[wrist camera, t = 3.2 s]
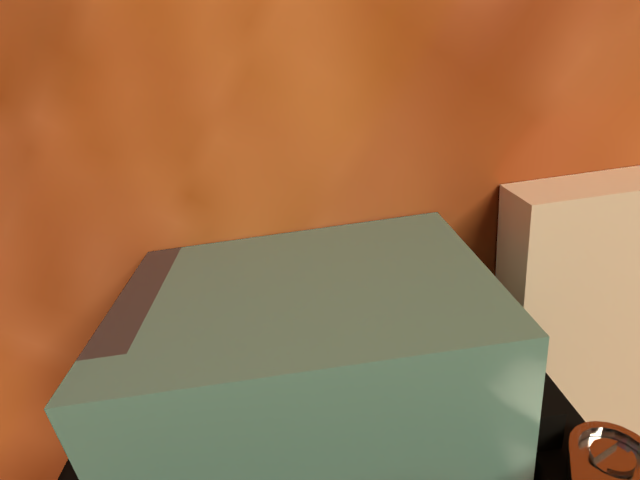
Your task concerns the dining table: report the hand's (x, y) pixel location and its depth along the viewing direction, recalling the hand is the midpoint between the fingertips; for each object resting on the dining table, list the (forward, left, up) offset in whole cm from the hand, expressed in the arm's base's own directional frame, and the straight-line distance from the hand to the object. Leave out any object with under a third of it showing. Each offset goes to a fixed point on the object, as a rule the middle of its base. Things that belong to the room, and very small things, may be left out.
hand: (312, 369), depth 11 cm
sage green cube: (0, 0, -1) cm, 1 cm away
